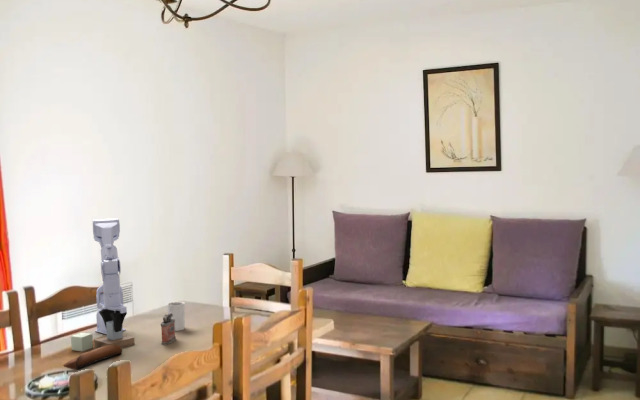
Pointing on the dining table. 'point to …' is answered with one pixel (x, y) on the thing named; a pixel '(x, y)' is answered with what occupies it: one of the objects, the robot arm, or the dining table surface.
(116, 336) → the blue block
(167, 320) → the lighter
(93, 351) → the brown tapered cylinder
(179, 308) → the white cup
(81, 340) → the sage cube
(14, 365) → the dining table surface
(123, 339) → the walnut block
